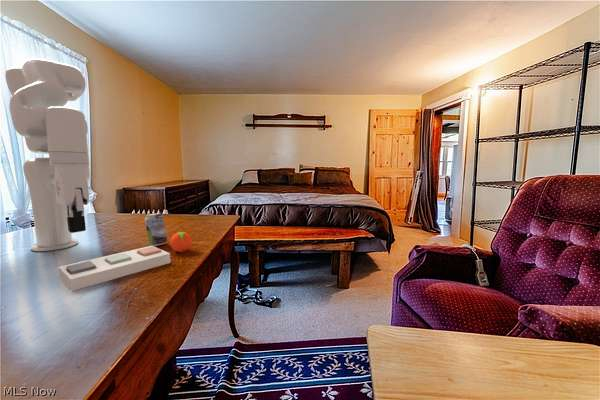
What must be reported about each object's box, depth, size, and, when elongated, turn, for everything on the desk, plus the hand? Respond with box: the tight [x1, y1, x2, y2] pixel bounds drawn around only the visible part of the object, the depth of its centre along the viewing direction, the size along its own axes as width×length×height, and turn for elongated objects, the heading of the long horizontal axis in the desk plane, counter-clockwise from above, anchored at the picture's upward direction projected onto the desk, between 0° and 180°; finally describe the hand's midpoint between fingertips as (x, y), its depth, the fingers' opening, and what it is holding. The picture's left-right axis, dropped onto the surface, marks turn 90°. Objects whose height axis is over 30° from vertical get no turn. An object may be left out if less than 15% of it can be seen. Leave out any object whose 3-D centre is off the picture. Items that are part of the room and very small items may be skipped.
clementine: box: [170, 231, 193, 253], centre depth 94 cm, size 8×7×7 cm
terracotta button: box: [137, 246, 162, 256], centre depth 85 cm, size 5×5×3 cm
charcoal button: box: [66, 261, 96, 275], centre depth 71 cm, size 5×5×3 cm
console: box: [57, 245, 171, 292], centre depth 78 cm, size 12×24×3 cm, turn 142°
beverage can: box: [144, 212, 168, 247], centre depth 100 cm, size 6×7×12 cm
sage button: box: [105, 252, 131, 265], centre depth 78 cm, size 5×5×3 cm
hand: (77, 231), depth 70 cm, fingers closed
